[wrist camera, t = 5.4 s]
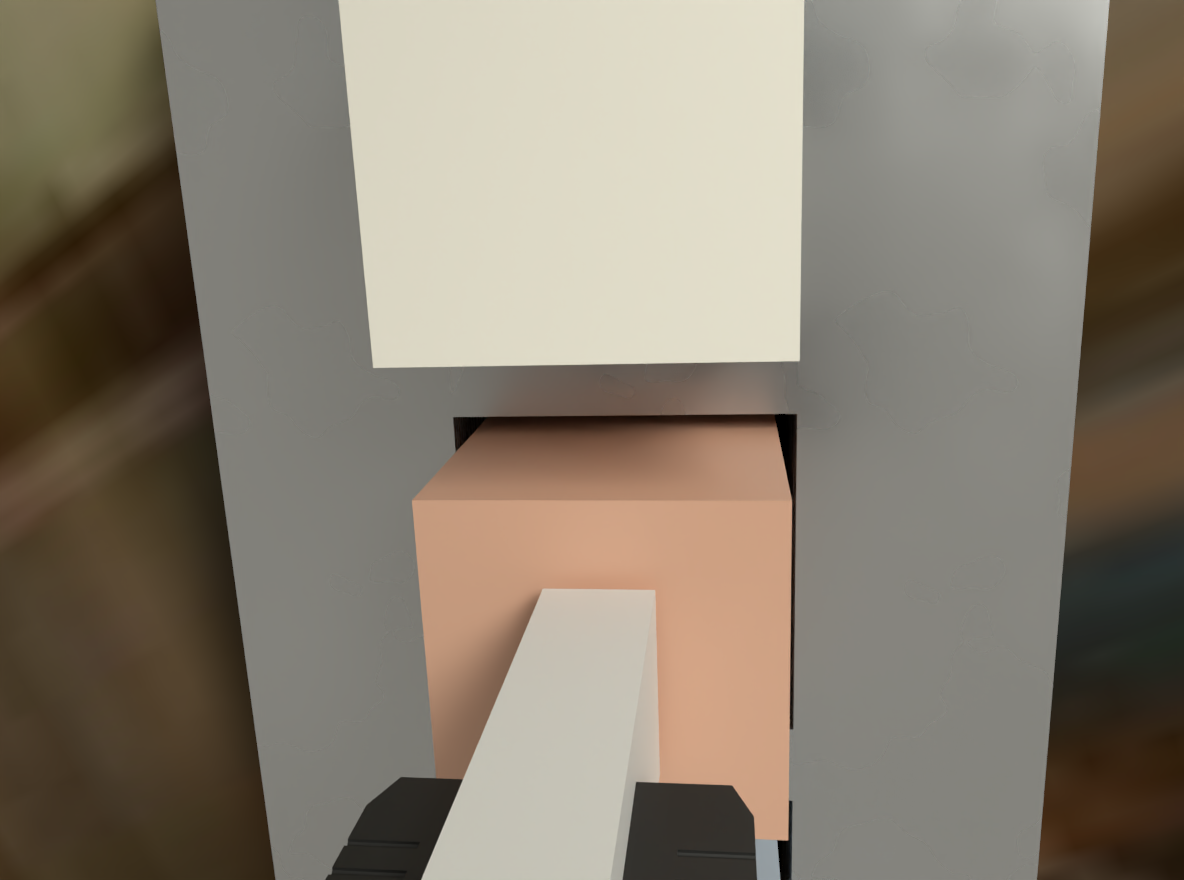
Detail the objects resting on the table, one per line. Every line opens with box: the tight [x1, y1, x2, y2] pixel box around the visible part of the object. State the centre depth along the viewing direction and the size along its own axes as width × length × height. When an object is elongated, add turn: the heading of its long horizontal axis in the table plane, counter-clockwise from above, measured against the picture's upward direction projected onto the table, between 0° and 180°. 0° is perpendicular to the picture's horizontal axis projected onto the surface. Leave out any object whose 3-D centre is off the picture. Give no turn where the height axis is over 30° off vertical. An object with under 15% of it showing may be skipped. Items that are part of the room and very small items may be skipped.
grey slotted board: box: [156, 0, 1109, 880], centre depth 19 cm, size 22×14×3 cm, turn 2°
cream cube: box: [338, 0, 804, 368], centre depth 14 cm, size 5×5×5 cm
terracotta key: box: [412, 414, 792, 840], centre depth 17 cm, size 5×5×5 cm
